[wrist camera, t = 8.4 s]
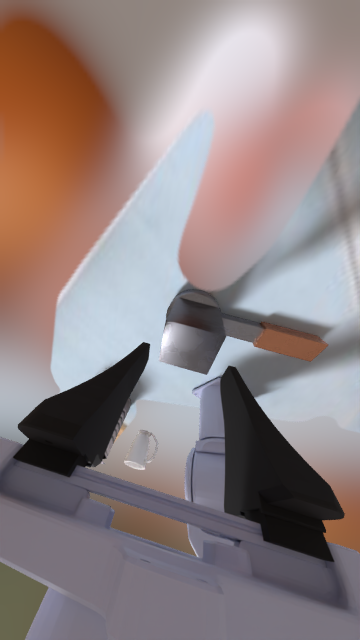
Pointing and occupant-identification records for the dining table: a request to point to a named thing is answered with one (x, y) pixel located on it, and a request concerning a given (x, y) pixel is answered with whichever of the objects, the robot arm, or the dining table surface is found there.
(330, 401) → the dining table surface
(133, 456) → the cup
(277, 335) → the ratchet
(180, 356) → the dark grey cube
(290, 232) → the dining table surface
